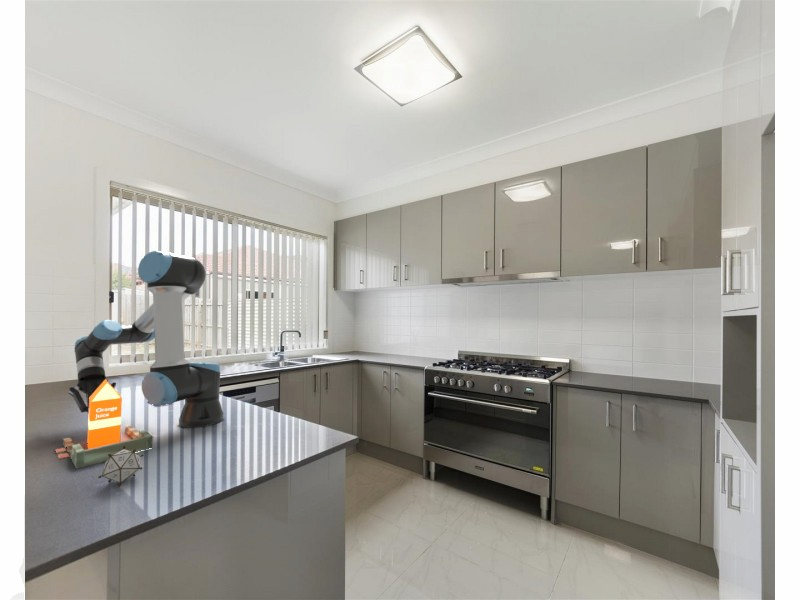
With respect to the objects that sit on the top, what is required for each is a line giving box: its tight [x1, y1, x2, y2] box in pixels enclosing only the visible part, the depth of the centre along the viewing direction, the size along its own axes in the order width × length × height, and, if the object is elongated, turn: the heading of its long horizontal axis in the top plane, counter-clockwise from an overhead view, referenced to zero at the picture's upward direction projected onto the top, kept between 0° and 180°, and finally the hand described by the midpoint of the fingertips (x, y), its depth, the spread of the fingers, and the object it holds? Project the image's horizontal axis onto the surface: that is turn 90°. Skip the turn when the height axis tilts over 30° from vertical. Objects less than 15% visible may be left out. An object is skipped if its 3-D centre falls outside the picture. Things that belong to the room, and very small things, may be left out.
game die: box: [97, 446, 145, 488], centre depth 83 cm, size 9×8×10 cm
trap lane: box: [62, 425, 154, 469], centre depth 104 cm, size 26×17×4 cm, turn 51°
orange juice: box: [87, 378, 123, 449], centre depth 108 cm, size 8×9×20 cm
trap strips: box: [54, 447, 70, 460], centre depth 99 cm, size 10×2×1 cm, turn 51°
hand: (98, 426), depth 113 cm, fingers closed
